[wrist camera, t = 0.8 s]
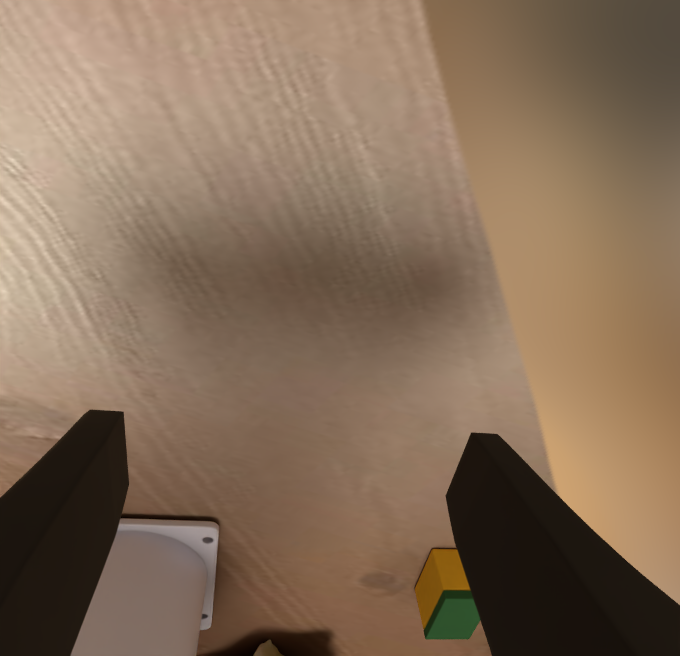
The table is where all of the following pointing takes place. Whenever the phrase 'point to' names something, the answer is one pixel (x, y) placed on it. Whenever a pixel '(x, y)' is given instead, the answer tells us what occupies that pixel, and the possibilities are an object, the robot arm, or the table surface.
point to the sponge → (446, 597)
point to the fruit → (267, 649)
